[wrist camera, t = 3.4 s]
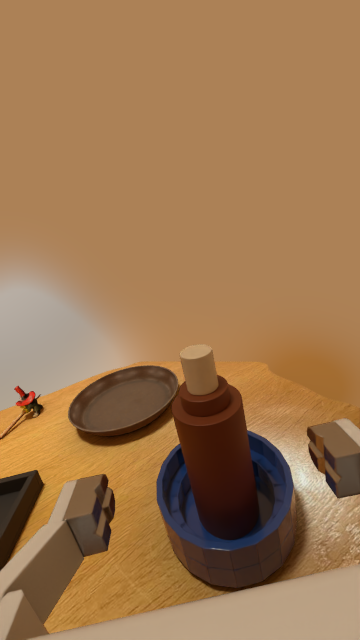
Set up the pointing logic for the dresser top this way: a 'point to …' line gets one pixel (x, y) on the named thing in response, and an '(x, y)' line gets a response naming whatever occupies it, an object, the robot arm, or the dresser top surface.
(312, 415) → the dresser top surface
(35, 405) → the toy figure
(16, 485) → the tray
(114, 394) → the plant saucer
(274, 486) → the bowl
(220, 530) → the bottle
